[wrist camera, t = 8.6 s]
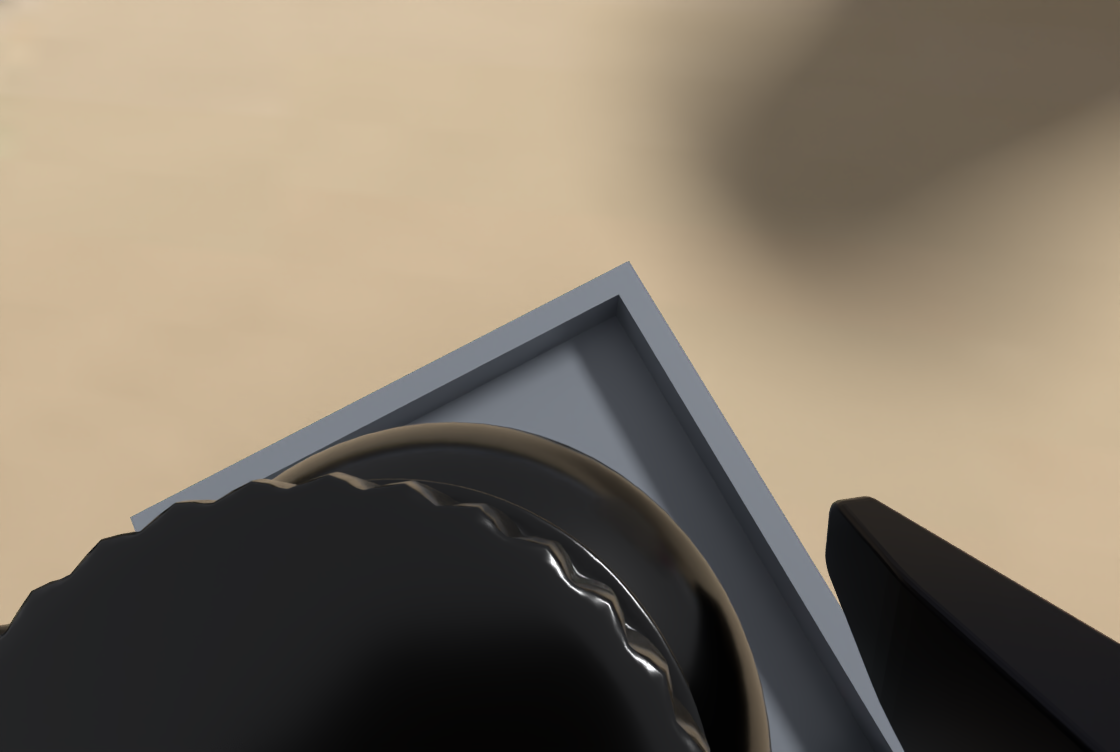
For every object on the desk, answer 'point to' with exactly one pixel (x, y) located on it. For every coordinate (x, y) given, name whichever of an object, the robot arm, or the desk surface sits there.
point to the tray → (635, 480)
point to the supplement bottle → (392, 615)
